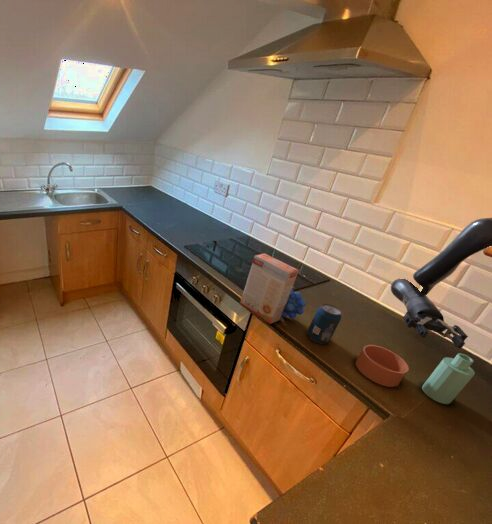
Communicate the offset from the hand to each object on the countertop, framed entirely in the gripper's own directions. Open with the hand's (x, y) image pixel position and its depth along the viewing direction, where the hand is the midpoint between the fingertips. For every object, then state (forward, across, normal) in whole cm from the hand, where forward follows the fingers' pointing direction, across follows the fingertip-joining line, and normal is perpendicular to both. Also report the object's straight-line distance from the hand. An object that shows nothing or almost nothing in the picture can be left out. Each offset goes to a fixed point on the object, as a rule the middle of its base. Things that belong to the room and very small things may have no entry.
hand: (442, 340), depth 88 cm
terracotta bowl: (+10, -14, +12) cm, 21 cm away
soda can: (+3, -30, +12) cm, 32 cm away
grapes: (-3, -41, +12) cm, 43 cm away
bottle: (+11, 0, +11) cm, 16 cm away
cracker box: (-2, -49, +12) cm, 51 cm away
